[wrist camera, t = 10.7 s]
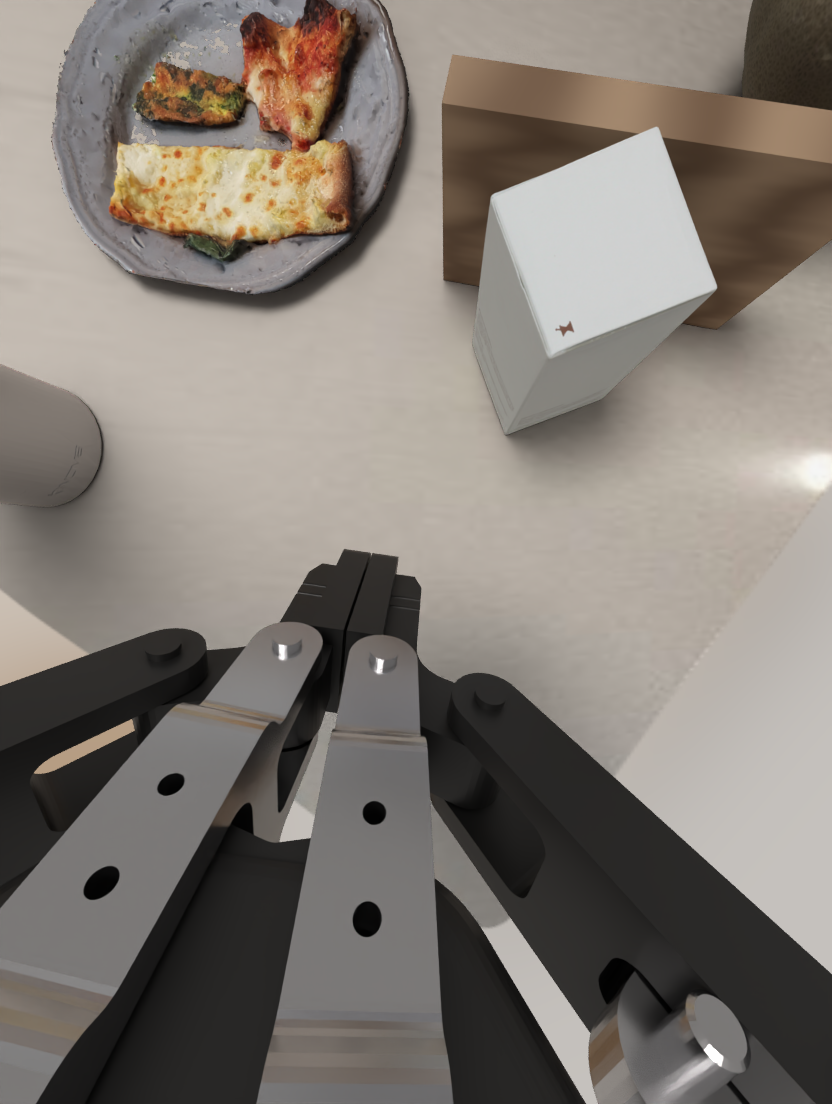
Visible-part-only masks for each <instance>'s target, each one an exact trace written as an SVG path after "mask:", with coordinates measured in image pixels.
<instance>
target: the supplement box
mask: <svg viewBox="0 0 832 1104" xmlns="http://www.w3.org/2000/svg"><path fill="white" fill-rule="evenodd" d="M716 289H717V285H716V282H715V279H714V277H713V274H712V271H711V269H710V266H709V264H708V261H707V258H706V255H705V253H704V250H703V248H702V245H701V242H700V240H699V237H698V234H697V232H696V229H695V226H694V223H693V220H692V218H691V215H690V212H689V210H688V207H687V204H686V201H685V199H684V196H683V193H682V191H681V188H680V185H679V182H678V180H677V177H676V174H675V172H674V169H673V166H672V163H671V160H670V158H669V155H668V152H667V149H666V147H665V144H664V141H663V139H662V136H661V133H660V130H659V128H658V127H654V128H652V129H649V130H647V131H644V132H642V133H640V134H637V135H635V136H632V137H630V138H628V139H625V140H623V141H621V142H618V143H616V144H614V145H611V146H609V147H607V148H604V149H602V150H600V151H597V152H595V153H593V154H590V155H588V156H586V157H583V158H581V159H579V160H576V161H574V162H572V163H569V164H567V165H565V166H563V167H560V168H558V169H556V170H553V171H550V172H548V173H545V174H543V175H540V176H538V177H535V178H532V179H530V180H527V181H525V182H522V183H520V184H517V185H515V186H512V187H510V188H508V189H505V190H503V191H500V192H497V193H494V194H493V195H492V196H491V199H490V206H489V213H488V221H487V228H486V236H485V243H484V252H483V260H482V268H481V277H480V285H479V293H478V301H477V309H476V318H475V324H474V332H473V339H472V345H473V348H474V351H475V354H476V357H477V360H478V362H479V365H480V368H481V371H482V374H483V376H484V379H485V382H486V384H487V387H488V390H489V393H490V395H491V398H492V401H493V403H494V406H495V409H496V411H497V414H498V417H499V420H500V422H501V425H502V428H503V431H504V434H505V435H508V434H510V433H513V432H516V431H518V430H521V429H524V428H526V427H529V426H532V425H534V424H537V423H540V422H543V421H545V420H548V419H550V418H553V417H556V416H558V415H561V414H564V413H566V412H569V411H572V410H574V409H577V408H580V407H582V406H585V405H588V404H590V403H593V402H596V401H598V400H601V399H602V398H604V397H605V396H606V395H607V394H608V393H609V392H610V391H611V390H612V389H613V388H614V387H615V386H616V385H617V384H618V383H619V382H620V381H621V380H622V379H623V378H625V377H626V375H627V374H629V373H630V372H631V371H632V370H633V369H634V368H635V367H636V366H637V365H638V364H639V363H640V362H641V361H642V360H643V359H644V358H646V357H647V356H648V355H649V354H650V353H651V352H652V351H653V350H654V349H655V348H656V347H657V346H658V345H659V344H660V343H661V342H663V341H664V340H665V339H666V338H667V337H668V336H669V335H670V334H671V333H672V332H673V331H674V330H675V329H676V328H677V327H678V326H679V325H680V324H681V323H682V322H683V321H684V320H685V319H687V318H688V317H689V316H690V315H691V314H692V313H693V312H694V311H695V310H696V309H697V308H698V307H699V306H700V305H701V304H702V303H703V302H705V301H706V300H707V299H708V298H709V297H710V296H711V295H712V294H713V293H714V292H715V291H716Z"/></svg>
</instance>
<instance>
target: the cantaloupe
mask: <svg viewBox="0 0 832 1104" xmlns="http://www.w3.org/2000/svg"><path fill="white" fill-rule="evenodd" d="M742 95H743V98H750V99H757V100H764V101H771V102H777V103H784V104H791V105H798V106H805V107H811V108H818V109H825V110H832V0H753V2H752V7H751V11H750V15H749V21H748V27H747V34H746V42H745V50H744V70H743V77H742Z"/></svg>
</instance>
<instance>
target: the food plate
mask: <svg viewBox="0 0 832 1104" xmlns="http://www.w3.org/2000/svg"><path fill="white" fill-rule="evenodd" d="M94 3H95V4H94V5H93V7H90V9H88V11H87V14H86V15H85V16H84V19H83V20H84V21H83V22H82V23H81V24H80V25H79V27H78V28H77V30H76V34H75V36H74V39H73V41H72V43H71V44H70V46H69V49H68V50H67V51H66V52H65V50H64V54H65V56H66V61H65V62H64V65H63V66H62V67H63V71H62V72H60V76H58V77H59V80H58V82H59V83H58V85H57V87H58V92H57V93H56V94H57V101H56V104H57V105H56V112H55V123H53V122H52V123H53V134H52V136H51V138H52V141H51V142H52V146H53V150H54V154H55V159H56V161H57V165H58V170H59V172H60V174H61V177H62V181H61V183H62V186H63V187H62V189H63V190H64V194H65V195H66V197H67V199H68V202H69V205H70V209H71V210H72V211H73V213H74V215H75V217H76V219H77V222H78V223H80V225H81V228H82V229H83V230H84V232H85V234H87V235H88V237H90V239H91V240H92V242H94V245H97V246H98V247H99V248H100V250H101V251H103V252H104V253H105V254H107V255H108V256H110V257H111V258H112V259H113V260H115V261H116V262H118V263H119V264H120V265H121V266H122V267H123V268H124V269H125V270H126V271H127V272H128V271H129V274H132V273H134V274H137V273H138V274H137V275H142V276H146V277H152V278H160V279H165V280H168V281H169V280H172V281H175V282H177V283H184V284H190V285H191V284H192V285H198V286H206V287H211V288H216V289H222V290H229V291H234V292H240V293H243V292H246V293H245V294H247V291H249V292H250V293H249V294H250V295H253V294H259V293H261V294H262V292H263V293H269V292H270V291H271V292H276V291H279V290H280V289H283V288H284V289H285V288H288V287H291V286H292V285H294V284H296V283H297V282H300V281H303V278H306V277H307V276H309V275H310V274H311V273H312V272H313V271H316V269H317V268H319V267H320V266H322V265H323V264H325V263H326V261H329V259H330V258H331V259H332V257H333V256H334V255H335V256H336V255H337V253H338V252H341V250H344V249H345V247H347V246H348V245H350V244H351V243H352V242H353V241H354V240H355V239H356V238H355V237H356V235H357V234H358V233H359V231H360V230H361V226H363V225H364V223H365V222H366V221H367V220H368V219H369V217H371V215H372V214H374V212H376V209H377V207H378V206H379V203H380V202H381V200H382V197H383V195H384V193H385V190H386V185H387V181H389V179H390V177H391V175H392V171H393V168H394V166H395V165H394V163H395V162H396V159H397V153H398V152H399V149H400V146H401V142H402V138H403V134H404V130H405V126H406V123H407V117H408V116H407V114H408V110H409V109H408V100H409V98H408V96H409V93H408V91H409V90H408V89H409V88H408V82H407V78H406V72H405V67H404V64H403V60H402V58H401V56H400V55H401V54H400V52H399V50H398V47H397V42H396V38H395V36H394V33H393V27H392V22H391V20H390V18H389V15H388V12H387V10H386V9H385V7H384V6H383V5H382V4H381V2H380V1H379V0H96V1H95V2H94ZM228 23H232V25H229V26H226V25H227V24H228ZM233 24H238V26H237V27H236V28H235V27H233ZM205 29H206V31H203V30H205ZM219 29H221V31H220V32H218V33H212V32H214V31H216V30H219ZM228 29H229V30H230V31H227V30H228ZM231 30H232V31H231ZM217 37H220V41H224V45H228V47H229V48H228V51H229V52H228V53H229V55H228V53H221V52H220V51H221V50H223V47H219V46H218V47H217V46H216V49H215V50H214V49H213V48H211V46H208V45H209V44H210V45H212V46H213V45H215V40H214V39H215V38H217ZM205 39H207V40H208V41H205ZM185 40H186V43H187V44H189V45H193V46H198V49H194V48H186V46H185V47H180V43H181V42H184V41H185ZM210 40H212V42H211V41H210ZM239 41H241V43H242V45H241V47H238V46H236V43H237V42H239ZM206 46H208V48H206ZM168 51H169V52H170V51H171V52H172V55H173V58H175V59H176V57H175V55H176V52H180V53H181V55H180V57H179V59H180V60H182V59H183V60H185V61H188V62H189V64H188V65H190V68H188V67H187V69H186V70H185V69H182V68H179V67H176V66H175V65H172V63H173V62H171V59H170V58H171V57H169V56H168V55H167V54H168ZM187 51H189V52H190V55H189V56H187V55H186V57H187V58H186V57H184V56H183V55H184V53H185V52H187ZM174 52H175V53H174ZM200 52H202V53H203V54H202V55H200V54H199V53H200ZM193 54H194V55H193ZM170 55H171V53H170ZM62 57H63V56H62ZM164 57H166V62H162V59H163V58H164ZM199 61H201V66H199V64H198V62H199ZM60 64H61V63H60ZM174 64H176V63H175V62H174ZM181 67H182V66H181ZM59 68H60V66H59ZM151 76H152V80H150V82H149V81H148V82H145V81H146V80H149V78H150V77H151ZM136 112H137V113H138V115H139V114H140V115H141V117H142V118H143V119H142V121H139V120H136V119H135V115H136ZM143 122H144V124H143ZM134 125H135V126H136V127H137V129H136V130H135V131H134V134H135V135H137V134H138V133H142V134H143V135H144V136H147V139H146V140H145V143H147V142H149V141H151V140H153V141H154V140H155V139H156V140H158V141H159V144H160V145H156V144H150V145H149V144H139V143H137V139H136V138H135V139H131V136H132V130H133V126H134ZM146 125H147V126H148V127H146ZM139 128H140V129H139ZM151 128H152V129H153V128H155V130H156V134H157V135H156V136H154V135H153V134H152V130H151ZM144 131H145V132H144ZM279 139H284V140H286V141H287V145H286V146H280V145H279V144H278V141H279ZM140 140H142V139H140ZM132 143H133V144H132Z"/></svg>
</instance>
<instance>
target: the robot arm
mask: <svg viewBox="0 0 832 1104" xmlns="http://www.w3.org/2000/svg"><path fill="white" fill-rule="evenodd" d="M100 458H101V437H100V431H99V428H98V425H97V423H96V420H95V417H94V416H93V414H92V413H91V411H90V410H89V408H88V407H87V406H86V405H85V404H84V403H83V402H82V401H81V400H80V399H79V398H78V397H76V396H75V395H73V394H72V393H70V392H69V391H66V390H64V389H61V388H59V387H56V386H54V385H51V384H49V383H46V382H44V381H41V380H39V379H36V378H34V377H31V376H29V375H26V374H24V373H21V372H19V371H16V370H14V369H12V368H9V367H7V366H4V365H2V364H0V503H1V504H13V505H25V506H37V507H52V506H58V505H61V504H64V503H67V502H69V501H71V500H72V499H74V498H76V497H77V496H79V495H80V494H81V493H82V492H83V491H84V490H85V489H86V488H87V487H88V485H89V484H90V483H91V481H92V480H93V478H94V476H95V474H96V471H97V469H98V467H99V462H100ZM397 565H398V557H395V556H389V555H382V554H375V553H372V556H371V553H368V552H361V551H354V550H347V549H344V551H343V553H342V555H341V557H340V559H339V561H338V563H337V565H329V564H321V565H319V566H318V567H316V568H314V569H313V570H311V571H310V572H309V573H308V575H307V577H306V578H305V580H304V582H303V585H301V587H300V589H299V590H298V593H297V594H296V595H295V597H294V599H293V600H292V602H291V604H290V606H289V607H288V609H287V611H286V612H285V614H284V616H283V618H282V619H281V621H280V623H276V624H273V625H270V626H267V627H265V628H264V629H262V630H260V631H259V632H258V633H257V634H256V635H255V636H254V637H253V638H252V640H251V641H250V642H249V643H248V645H247V646H245V647H239V648H230V649H217V650H207V647H206V642H205V639H204V638H203V637H202V636H201V635H200V634H199V633H197V632H195V631H192V630H188V629H179V628H173V629H163V630H159V631H155V632H152V633H148V634H146V635H143V636H140V637H137V638H134V639H132V640H129V641H126V642H123V643H120V644H118V645H115V646H112V647H109V648H106V649H103V650H101V651H98V652H95V653H92V654H89V655H87V656H84V657H81V658H79V659H76V660H73V661H70V662H67V663H64V664H61V665H59V666H56V667H53V668H50V669H47V670H45V671H42V672H39V673H36V674H34V675H31V676H28V677H25V678H22V679H20V680H16V681H14V682H11V683H8V684H5V685H2V686H0V1104H586V1103H585V1101H584V1100H583V1098H582V1096H581V1095H580V1093H579V1091H578V1090H577V1088H576V1086H575V1085H574V1083H573V1081H572V1080H571V1078H570V1076H569V1075H568V1073H567V1071H566V1069H565V1068H564V1066H563V1065H562V1063H561V1061H560V1060H559V1058H558V1056H557V1054H556V1053H555V1051H554V1049H553V1048H552V1046H551V1044H550V1043H549V1041H548V1039H547V1038H546V1036H545V1034H544V1033H543V1031H542V1029H541V1027H540V1026H539V1024H538V1023H537V1021H536V1019H535V1017H534V1016H533V1014H532V1013H531V1011H530V1009H529V1007H528V1006H527V1004H526V1002H525V1001H524V999H523V997H522V996H521V994H520V992H519V991H518V989H517V987H516V986H515V984H514V982H513V980H512V979H511V977H510V975H509V974H508V972H507V970H506V969H505V967H504V965H503V964H502V962H501V960H500V959H499V957H498V955H497V954H496V952H495V950H494V949H493V947H492V945H491V943H490V942H489V940H488V939H487V937H486V935H485V934H484V932H483V930H482V929H481V927H480V926H479V924H478V923H477V921H476V920H475V919H474V917H473V916H472V915H471V913H470V912H469V911H468V910H467V908H466V907H465V906H464V905H463V904H462V903H461V902H460V901H459V899H458V898H457V897H456V896H455V895H454V894H453V893H452V892H451V891H450V890H448V889H447V888H446V887H445V886H444V885H442V884H441V883H440V882H439V881H438V880H436V879H434V863H433V844H432V825H431V806H430V799H431V801H432V804H433V806H434V808H435V809H436V811H437V812H438V814H439V815H440V817H441V818H442V820H443V821H444V822H445V824H446V825H447V827H448V828H449V830H450V831H451V833H452V834H453V835H454V837H455V838H456V840H457V841H458V843H459V844H460V846H461V847H462V848H463V850H464V851H465V853H466V854H467V856H468V857H469V859H470V860H471V861H472V863H473V864H474V866H475V867H476V869H477V870H478V872H479V873H480V874H481V876H482V877H483V879H484V880H485V882H486V883H487V885H488V886H489V887H490V889H491V890H492V892H493V893H494V895H495V896H496V898H497V899H498V900H499V902H500V903H501V905H502V906H503V908H504V909H505V911H506V912H507V913H508V915H509V916H510V918H511V919H512V921H513V922H514V923H515V925H516V926H517V928H518V929H519V931H520V932H521V933H522V935H523V936H524V938H525V939H526V941H527V942H528V944H529V945H530V947H531V948H532V949H533V951H534V952H535V954H536V955H537V956H538V958H539V960H540V961H541V962H542V964H543V965H544V967H545V968H546V970H547V971H548V973H549V974H550V976H551V977H552V978H553V980H554V981H555V983H556V984H557V986H558V987H559V989H560V990H561V991H562V993H563V994H564V995H565V997H566V998H567V1000H568V1002H569V1003H570V1004H571V1006H572V1007H573V1009H574V1010H575V1012H576V1013H577V1014H578V1016H579V1017H580V1019H581V1020H582V1022H583V1023H584V1025H585V1026H586V1028H587V1029H588V1030H589V1032H590V1033H591V1034H590V1040H589V1067H590V1075H591V1080H592V1084H593V1089H594V1092H595V1095H596V1098H597V1101H598V1104H832V974H831V973H830V972H829V971H828V970H826V969H825V968H824V967H823V966H822V965H821V964H820V963H819V962H818V961H817V960H815V959H814V958H813V957H812V956H811V955H810V954H809V953H808V952H807V951H805V950H804V949H803V948H802V947H801V946H800V945H799V944H798V943H797V942H796V941H794V940H793V939H792V938H791V937H790V936H789V935H788V934H787V933H785V932H784V931H783V930H782V929H781V928H780V927H779V926H778V925H777V924H775V923H774V922H773V921H772V920H771V919H770V918H769V917H768V916H767V915H766V914H765V913H763V912H762V911H761V910H760V909H759V908H758V907H757V906H756V905H755V904H754V903H752V902H751V901H750V900H749V899H748V898H747V897H746V896H745V895H744V894H742V893H741V892H740V891H739V890H738V889H737V888H736V887H735V886H734V885H732V884H731V883H730V882H729V881H728V880H727V879H726V878H725V877H724V876H723V875H721V874H720V873H719V872H718V871H717V870H716V869H715V868H714V867H713V866H711V865H710V864H709V863H708V862H707V861H706V860H705V859H704V858H703V857H702V856H700V855H699V854H698V853H697V852H696V851H695V850H694V849H692V847H691V846H689V845H688V844H687V843H686V842H685V841H684V840H683V839H682V838H680V837H679V836H678V835H677V834H676V833H675V832H674V831H673V830H671V828H669V827H668V826H667V825H666V824H665V823H664V822H663V821H662V820H661V819H659V818H658V817H657V816H656V815H655V814H654V813H653V812H652V811H651V810H650V809H648V808H647V807H646V806H645V805H644V804H643V803H642V802H641V801H640V800H639V799H637V798H636V797H635V796H634V795H633V794H632V793H631V792H630V791H628V789H626V788H625V787H624V786H623V785H622V784H621V783H620V782H619V781H618V780H616V779H615V778H614V777H613V776H612V775H611V774H610V773H609V772H608V771H607V770H605V769H604V768H603V767H602V766H601V765H600V764H599V763H598V762H597V761H595V760H594V759H593V758H592V757H591V756H590V755H589V754H588V753H587V752H586V751H584V750H583V749H582V748H581V747H580V746H579V745H578V744H577V743H576V742H574V741H573V740H572V739H571V738H570V737H569V736H568V735H567V734H566V733H565V732H563V731H562V730H561V729H560V728H559V727H558V726H557V725H556V724H555V723H553V722H552V721H551V720H550V719H549V718H548V717H547V716H546V715H545V714H544V713H542V712H541V711H540V710H539V709H538V708H537V707H536V706H535V705H534V704H532V703H531V702H530V701H529V700H528V699H527V698H526V697H525V696H524V695H523V694H521V693H520V692H519V691H518V690H517V689H516V688H515V687H514V686H512V685H511V684H510V683H508V682H507V681H505V680H503V679H501V678H499V677H497V676H494V675H490V674H485V673H472V674H468V675H465V676H463V677H461V678H460V679H458V680H457V681H456V683H453V682H451V681H448V680H446V679H443V678H441V677H439V676H437V675H435V674H434V673H432V672H431V671H429V670H428V669H427V668H426V667H425V666H424V665H423V664H422V663H421V661H420V660H419V658H418V655H417V636H418V624H419V610H420V599H421V587H420V585H419V583H418V582H417V580H416V579H415V577H411V576H404V575H397V574H396V573H397ZM338 708H339V710H338ZM325 711H326V712H333V713H337V712H338V715H337V721H336V726H335V729H333V730H332V733H331V737H330V742H329V747H328V752H327V757H326V762H325V767H324V773H323V778H322V783H321V788H320V793H319V799H318V804H317V809H316V814H315V819H314V825H313V830H312V836H311V838H309V839H301V840H294V841H286V842H279V841H280V836H281V833H282V829H283V826H284V823H285V820H286V818H287V816H288V813H289V811H290V808H291V806H292V803H293V801H294V798H295V796H296V794H297V791H298V789H299V786H300V784H301V781H302V779H303V776H304V774H305V771H306V769H307V766H308V764H309V762H310V759H311V757H312V754H313V752H314V749H315V747H316V744H317V741H318V731H319V729H320V727H321V724H322V721H323V718H324V714H325ZM130 719H132V720H133V724H134V729H135V731H134V732H131V733H129V734H128V735H125V736H123V737H122V738H119V739H117V740H115V741H113V742H111V743H109V744H108V745H105V746H103V747H101V748H100V749H97V750H95V751H93V752H91V753H89V754H87V755H85V756H83V757H81V758H79V759H77V760H75V761H73V762H71V763H69V764H67V765H65V766H63V767H61V768H59V769H57V770H55V771H52V772H49V773H45V774H34V772H35V770H36V769H37V768H38V767H39V766H40V765H41V764H42V763H43V762H45V761H46V760H48V759H49V758H51V757H53V756H55V755H57V754H59V753H61V752H63V751H65V750H67V749H69V748H71V747H73V746H76V745H78V744H80V743H82V742H84V741H86V740H88V739H90V738H92V737H94V736H97V735H99V734H101V733H103V732H105V731H107V730H109V729H111V728H113V727H116V726H118V725H120V724H122V723H124V722H126V721H128V720H130Z"/></svg>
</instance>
